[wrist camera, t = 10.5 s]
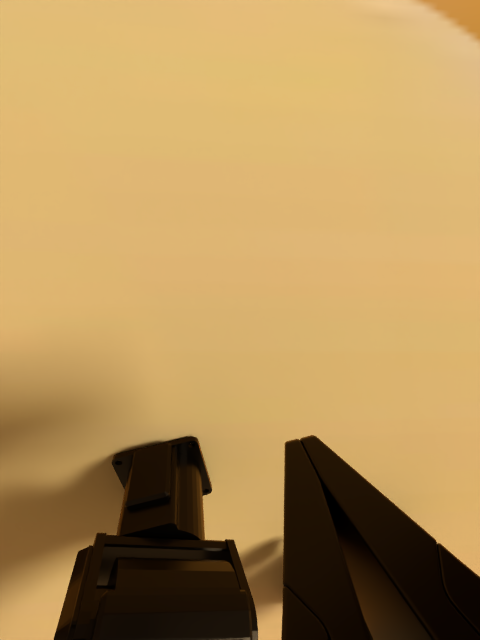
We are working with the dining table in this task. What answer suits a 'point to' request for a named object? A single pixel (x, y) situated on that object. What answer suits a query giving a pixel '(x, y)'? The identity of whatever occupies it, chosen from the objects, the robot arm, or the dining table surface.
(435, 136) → the dining table surface
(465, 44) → the dining table surface
